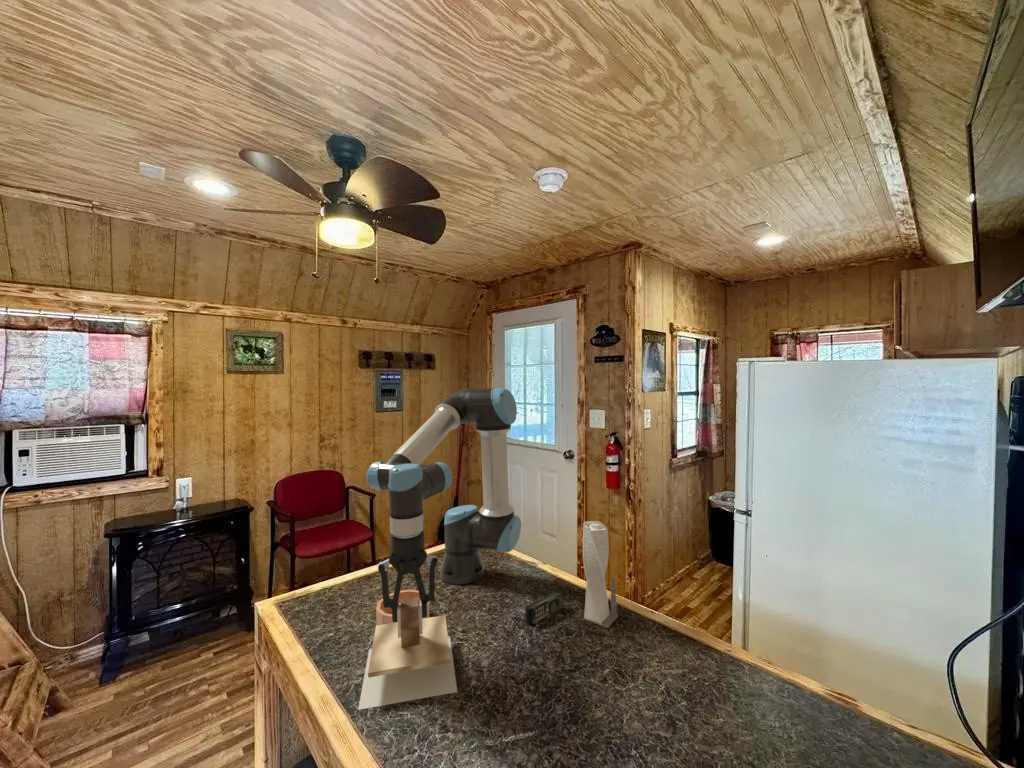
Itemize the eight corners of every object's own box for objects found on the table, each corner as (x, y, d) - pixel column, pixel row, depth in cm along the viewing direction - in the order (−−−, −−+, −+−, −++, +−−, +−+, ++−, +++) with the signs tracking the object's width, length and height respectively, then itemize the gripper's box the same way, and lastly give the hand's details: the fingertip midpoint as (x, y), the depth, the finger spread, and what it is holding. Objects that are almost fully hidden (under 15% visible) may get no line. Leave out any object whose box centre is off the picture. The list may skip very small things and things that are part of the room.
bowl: (428, 607, 124) (428, 587, 124) (430, 635, 110) (429, 612, 110) (379, 614, 120) (379, 593, 120) (374, 643, 107) (374, 620, 107)
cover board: (445, 619, 107) (444, 580, 107) (450, 663, 90) (449, 617, 90) (376, 629, 103) (374, 589, 103) (368, 677, 86) (366, 630, 86)
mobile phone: (530, 610, 113) (567, 590, 122) (522, 606, 115) (560, 586, 125) (530, 628, 113) (568, 607, 122) (523, 623, 115) (560, 603, 125)
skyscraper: (605, 630, 110) (603, 525, 110) (578, 620, 115) (576, 519, 115) (618, 616, 117) (616, 516, 117) (591, 607, 122) (590, 512, 122)
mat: (450, 638, 108) (450, 636, 108) (457, 694, 89) (457, 691, 89) (369, 651, 104) (369, 648, 104) (358, 712, 84) (358, 709, 84)
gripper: (443, 523, 102) (446, 617, 102) (370, 530, 98) (373, 628, 98) (445, 534, 94) (448, 636, 95) (366, 542, 91) (370, 648, 91)
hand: (410, 632), depth 97 cm, fingers closed on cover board, 4 cm apart
